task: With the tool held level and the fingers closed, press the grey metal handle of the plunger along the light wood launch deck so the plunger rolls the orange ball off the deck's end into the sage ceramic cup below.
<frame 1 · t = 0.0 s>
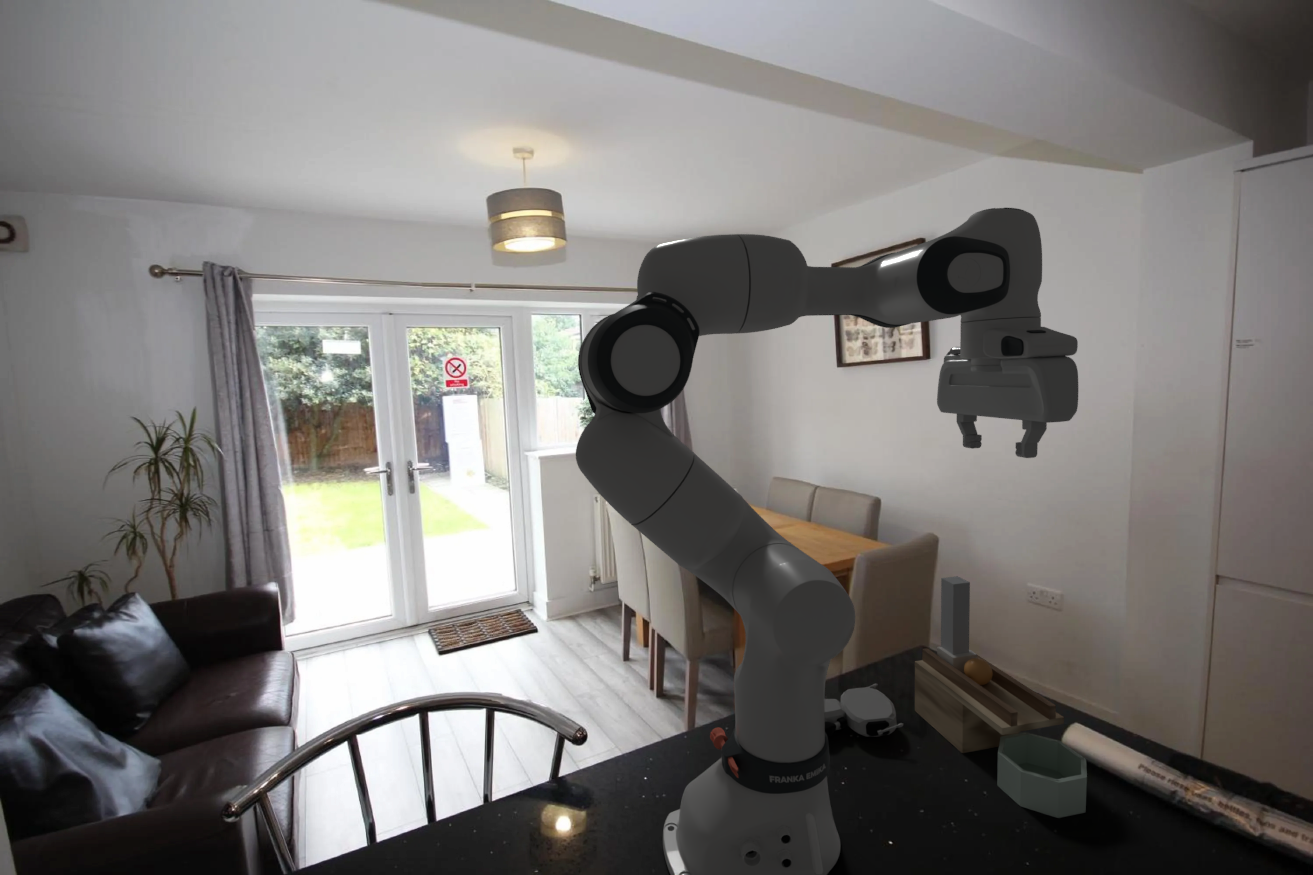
hand: (997, 452, 78), 48 cm above the kitchen counter, tool pointing down, fingers open, 8 cm apart
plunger: (957, 624, 100), point 17 cm above the kitchen counter, slide at 0.0 cm
cup: (1040, 788, 85), on the kitchen counter
robot toy: (848, 727, 101), on the kitchen counter
launch deck: (981, 740, 96), on the kitchen counter
ball: (978, 671, 95), point 11 cm above the kitchen counter, touching launch deck
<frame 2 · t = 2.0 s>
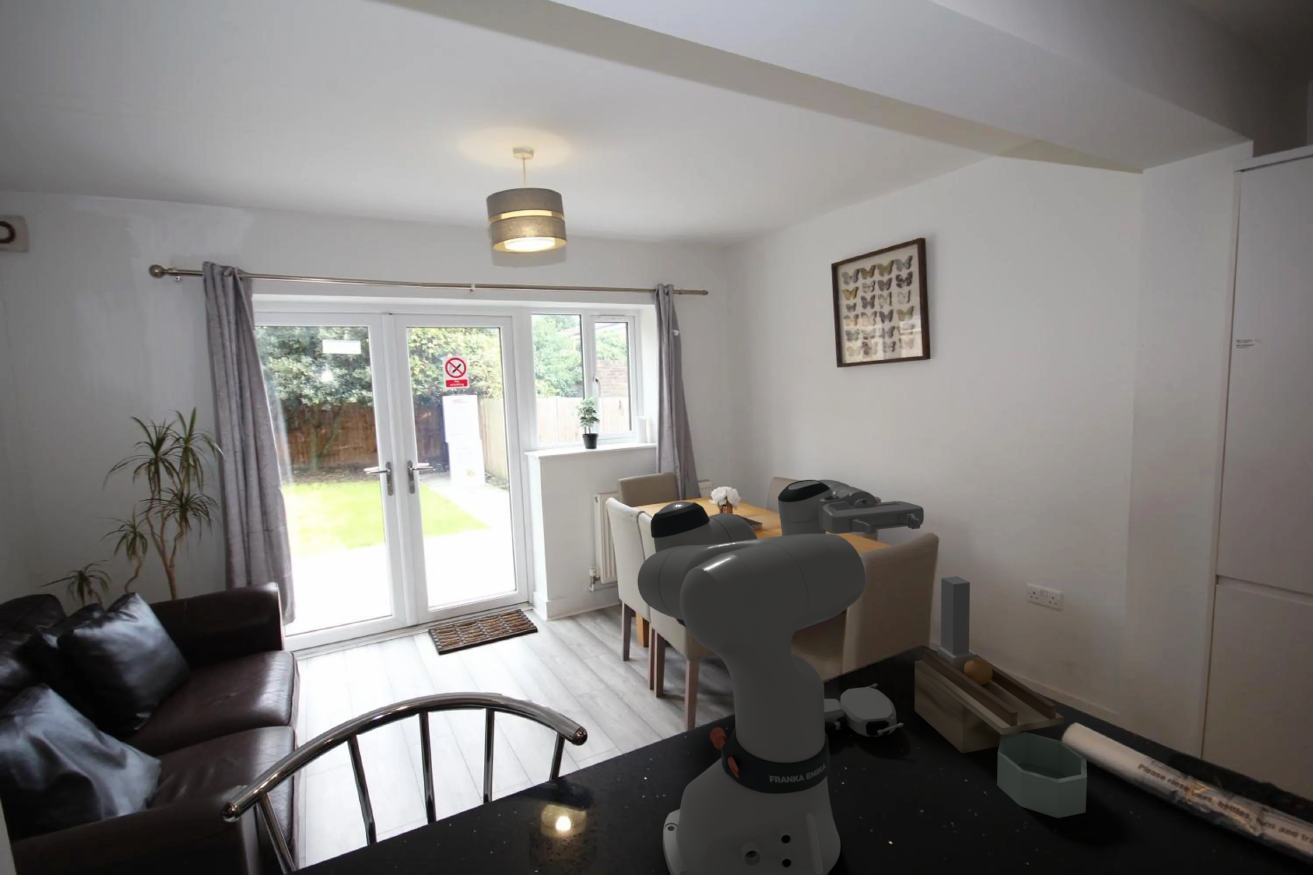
hand: (894, 527, 115), 29 cm above the kitchen counter, tool horizontal, fingers open, 8 cm apart
nothing on the kitchen counter moved.
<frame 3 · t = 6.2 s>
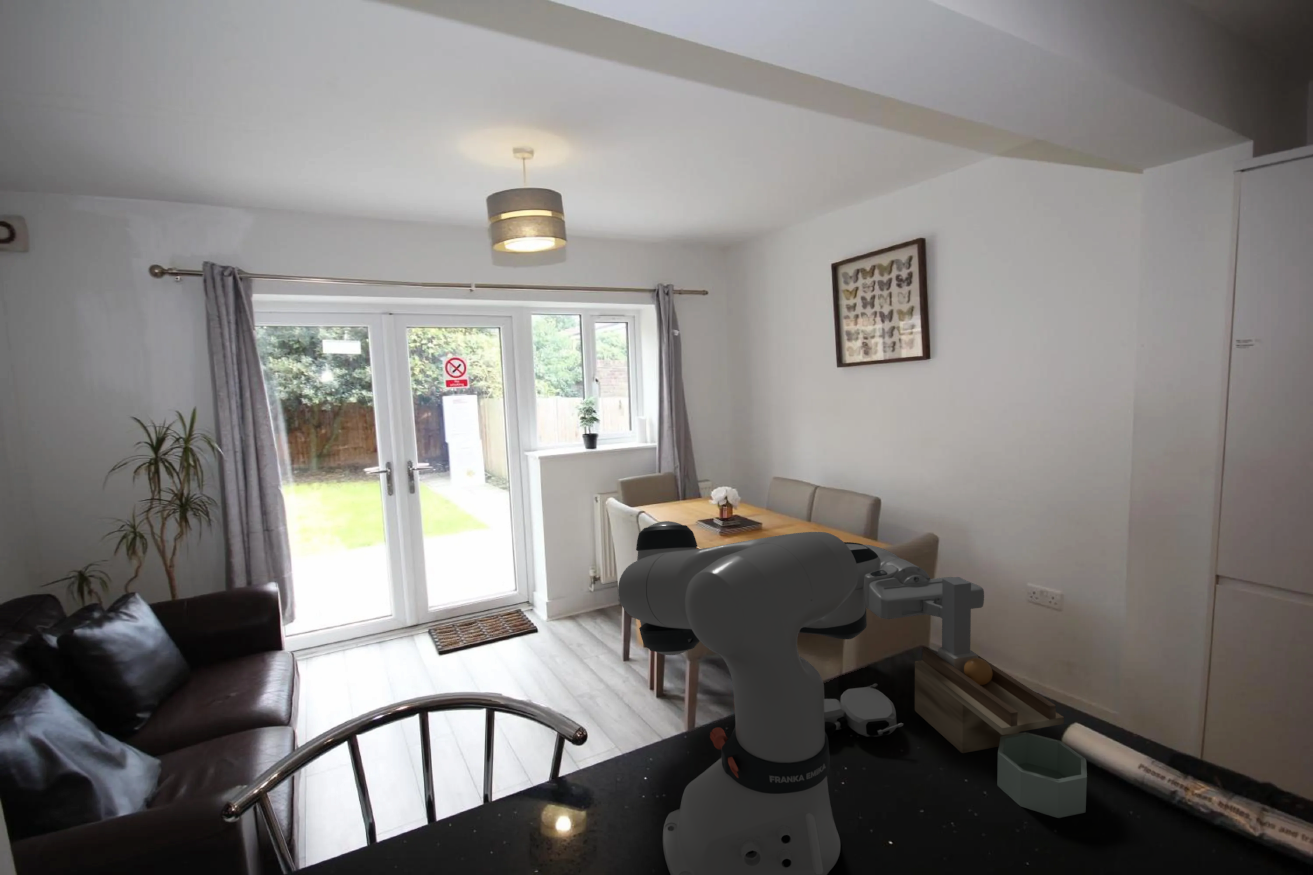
hand: (954, 615, 101), 17 cm above the kitchen counter, tool horizontal, fingers closed
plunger: (958, 624, 99), point 17 cm above the kitchen counter, slide at 0.3 cm, touching gripper
everything else where it was.
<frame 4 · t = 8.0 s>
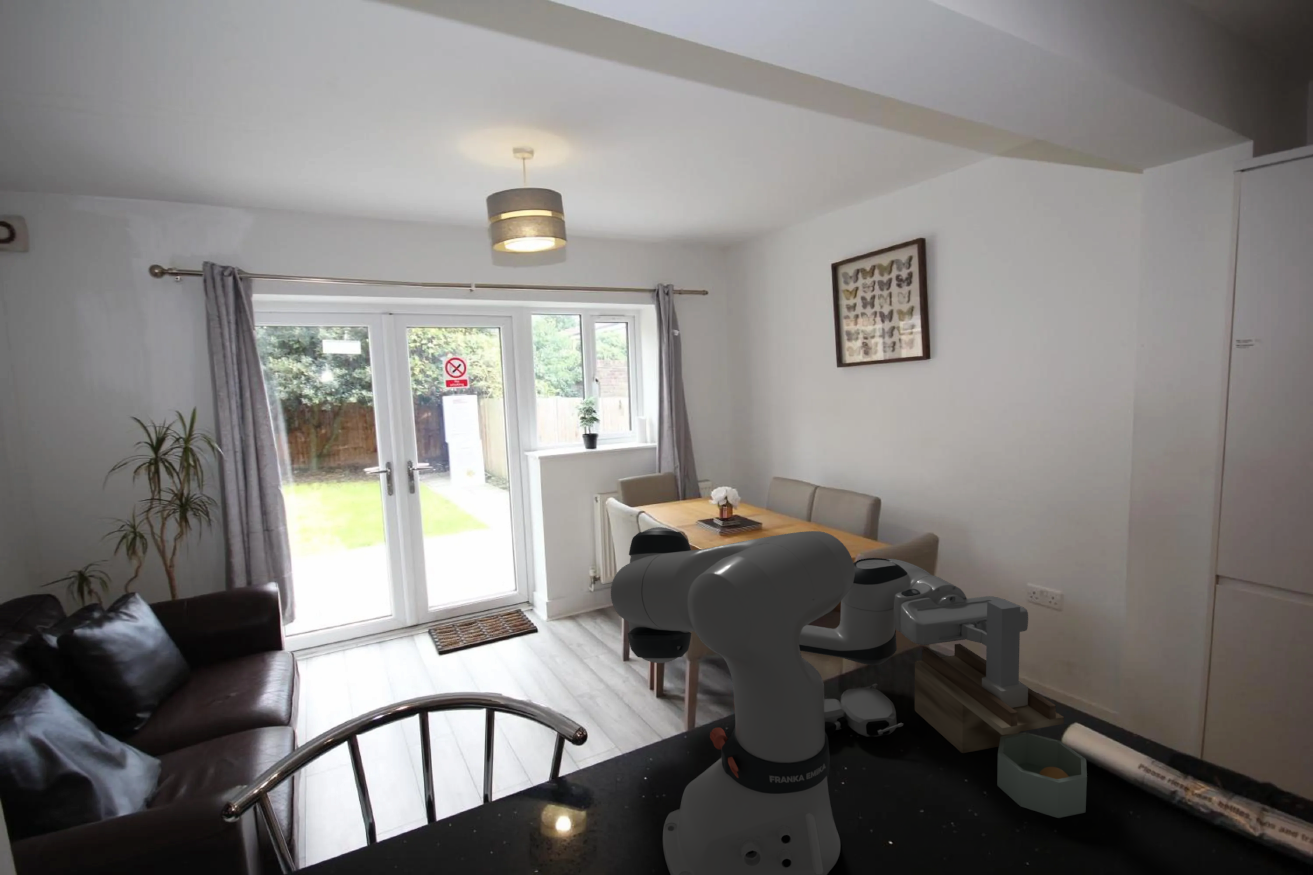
hand: (998, 641, 91), 17 cm above the kitchen counter, tool horizontal, fingers closed
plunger: (1005, 653, 89), point 17 cm above the kitchen counter, slide at 10.5 cm, touching gripper
ball: (1055, 783, 82), point 3 cm above the kitchen counter, tilted 114°
everything else where it was.
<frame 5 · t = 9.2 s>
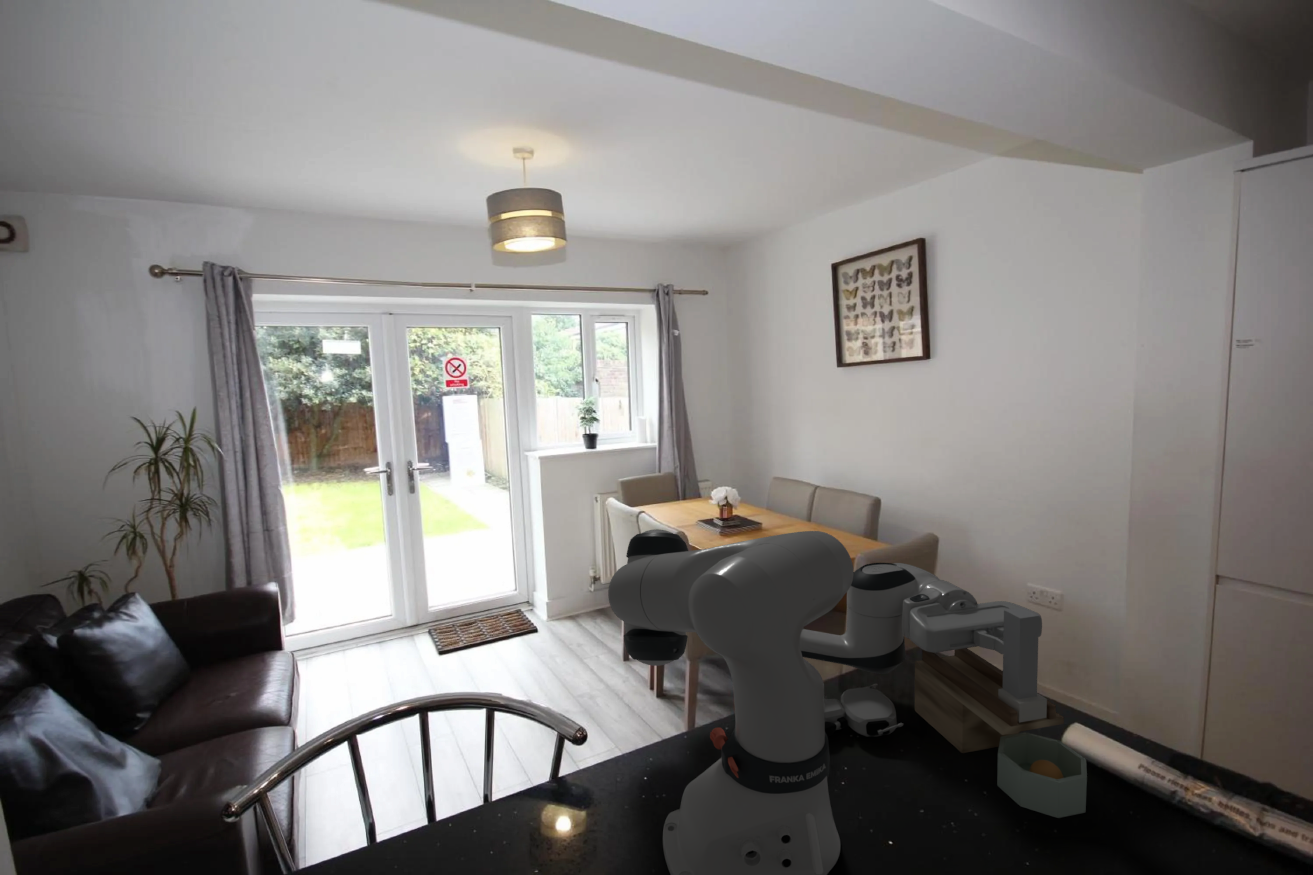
hand: (1012, 648, 88), 18 cm above the kitchen counter, tool horizontal, fingers closed, pressing on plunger
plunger: (1022, 663, 86), point 17 cm above the kitchen counter, slide at 13.9 cm, touching gripper
ball: (1046, 775, 83), point 3 cm above the kitchen counter, tilted 71°, touching cup
everything else where it was.
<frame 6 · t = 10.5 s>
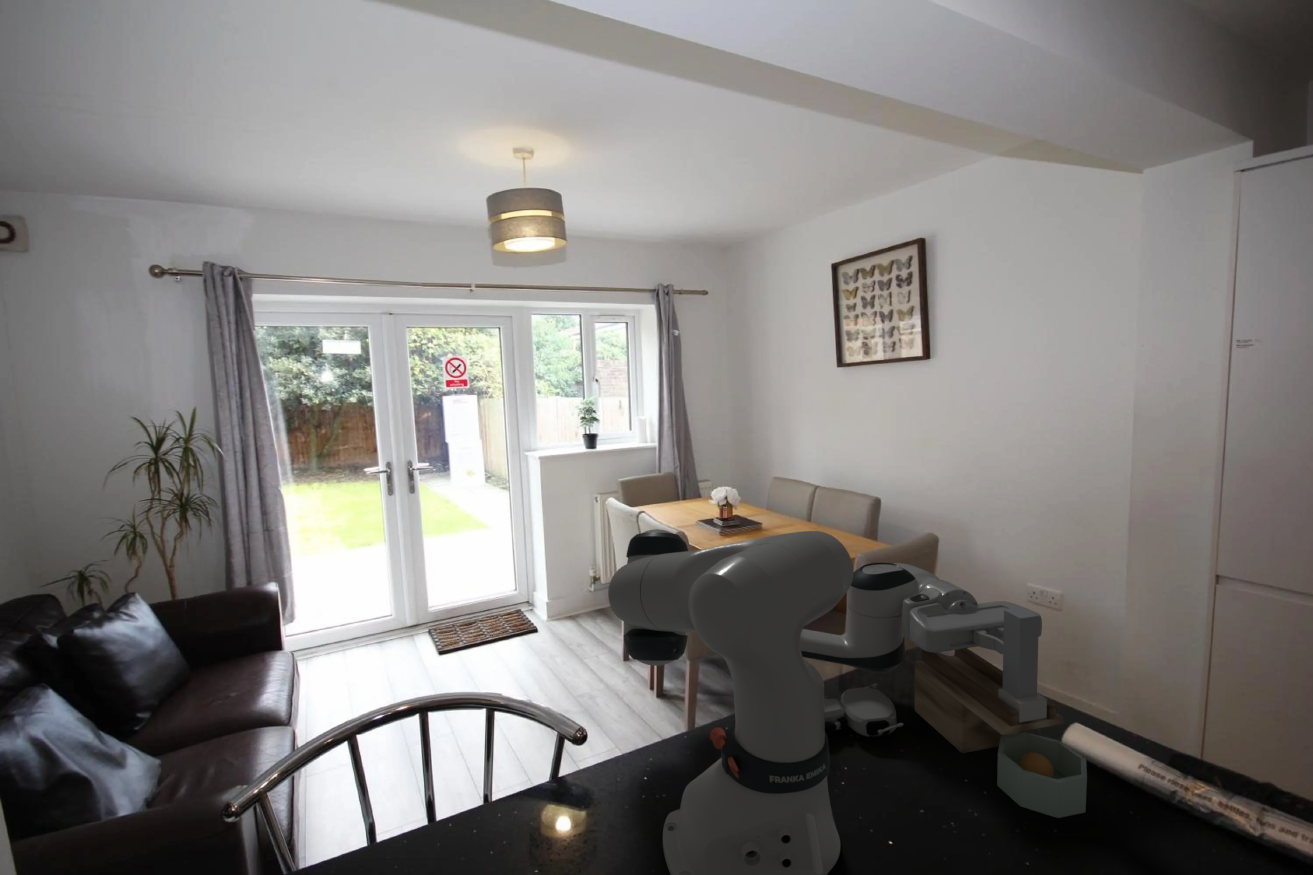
hand: (1012, 648, 88), 18 cm above the kitchen counter, tool horizontal, fingers closed
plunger: (1022, 663, 86), point 17 cm above the kitchen counter, slide at 13.9 cm
ball: (1036, 768, 85), point 3 cm above the kitchen counter, tilted 24°, touching cup
everything else where it was.
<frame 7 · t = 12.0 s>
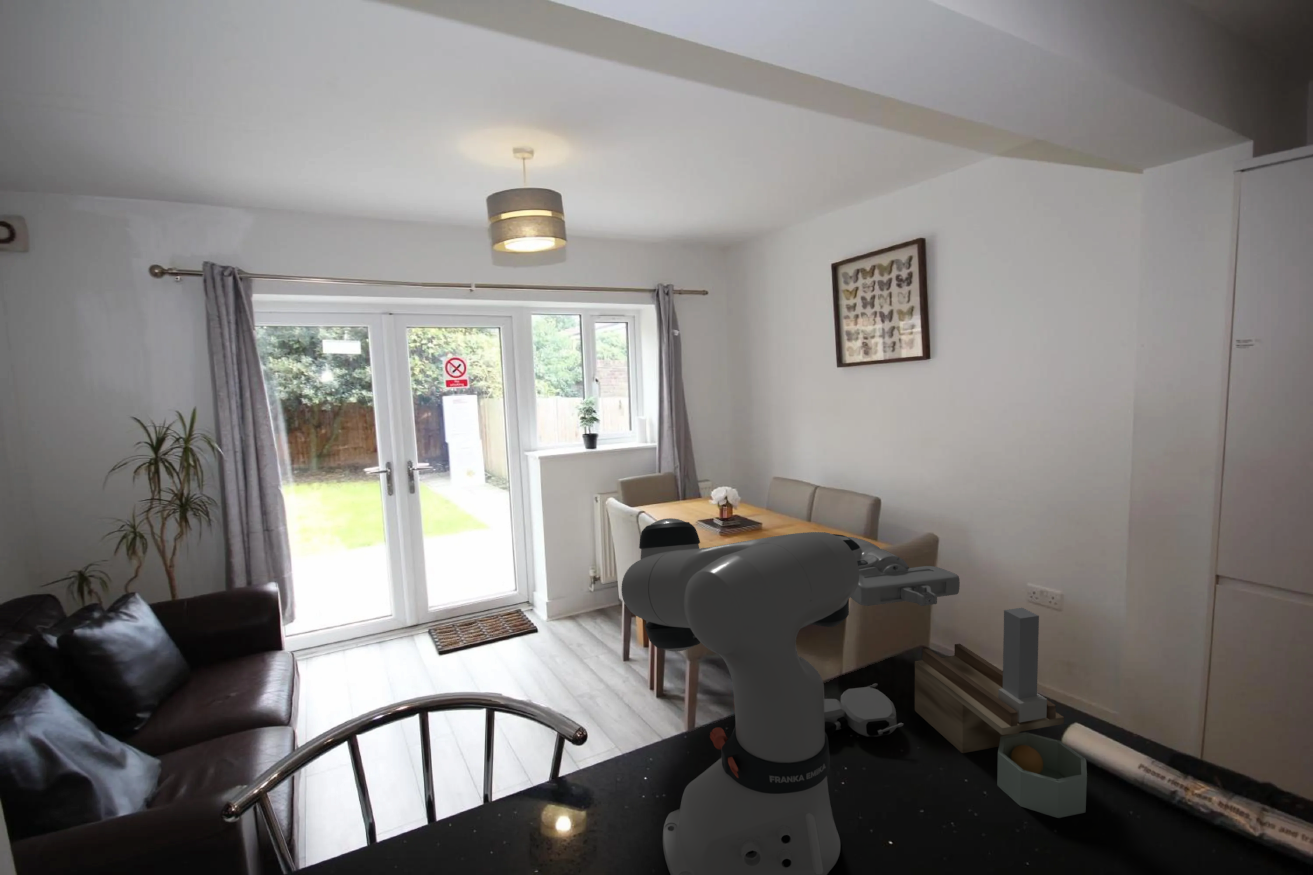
hand: (929, 600, 106), 18 cm above the kitchen counter, tool horizontal, fingers closed
ball: (1026, 760, 87), point 3 cm above the kitchen counter, tilted 26°, touching cup
everything else where it was.
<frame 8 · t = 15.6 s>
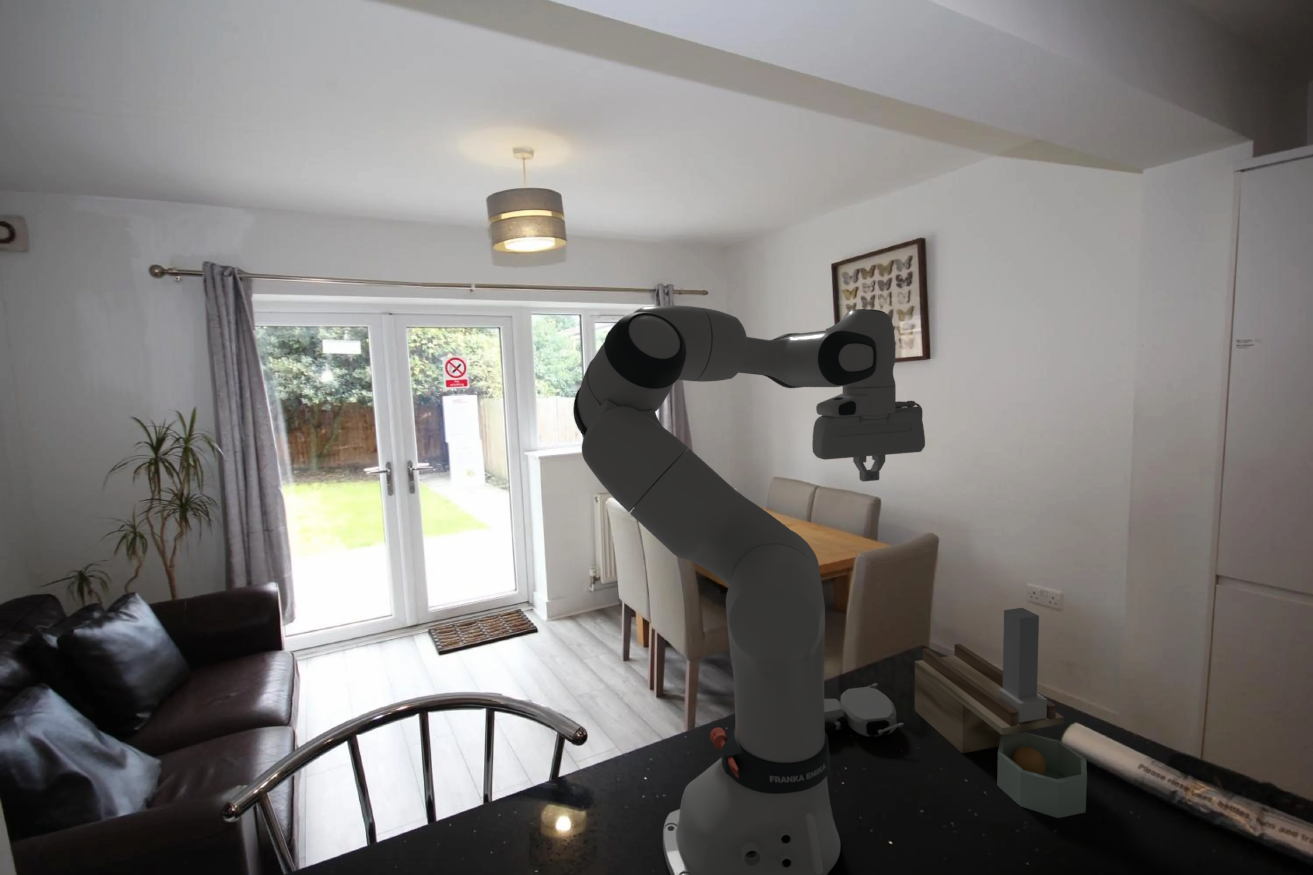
hand: (869, 480, 108), 39 cm above the kitchen counter, tool pointing down, fingers closed
ball: (1029, 762, 86), point 3 cm above the kitchen counter, tilted 14°, touching cup
everything else where it was.
at the end: ball inside the target area on the cup (2.0 cm from its centre), point 2.6 cm above the cup's base; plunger slide at 13.9 cm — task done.
